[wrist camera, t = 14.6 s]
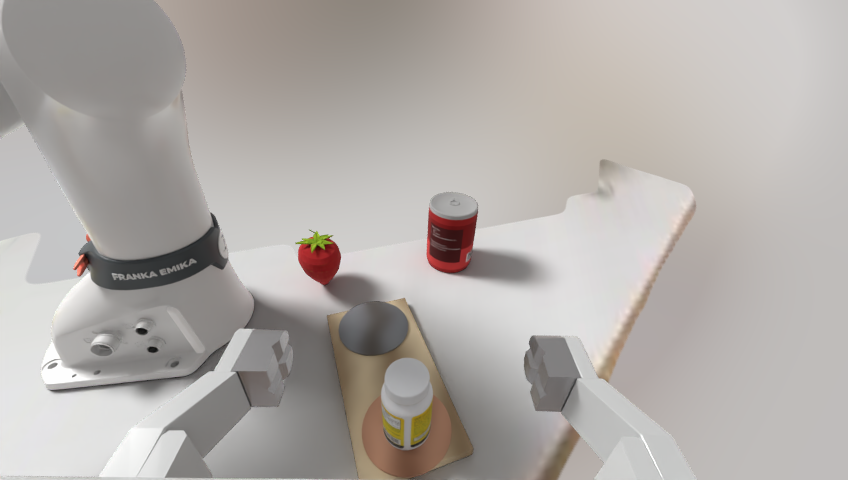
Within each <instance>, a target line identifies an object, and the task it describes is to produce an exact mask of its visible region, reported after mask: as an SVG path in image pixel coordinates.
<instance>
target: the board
mask: <svg viewBox="0 0 848 480" xmlns="http://www.w3.org/2000/svg"><path fill="white" fill-rule="evenodd" d="M327 319H328V325H329V330H330V335H331V340H332V345H333V350H334V355H335V360H336V365H337V371H338V376H339V381H340V386H341V391H342V396H343V401H344V406H345V411H346V416H347V422H348V427H349V432H350V437H351V442H352V447H353V452H354V457H355V462H356V467H357V473H358V478H359V479H366V480H408V479H411V478H413V477H416V476H419V475H423V474H425V473H427V472H429V471H431V470H434V469H436V468H439V467H441V466H444V465H446V464H449V463H452V462H454V461H457V460H459V459H462V458H464V457H467V456H470V455H472V452H473V447H472V444H471V442H470V440H469V438H468V436H467V433H466V431H465V429H464V427H463V425H462V422H461V420H460V418H459V416H458V414H457V412H456V409H455V407H454V405H453V403H452V401H451V398H450V396H449V394H448V392H447V390H446V387H445V385H444V383H443V381H442V379H441V377H440V374H439V372H438V370H437V368H436V366H435V363H434V361H433V359H432V357H431V355H430V352H429V350H428V348H427V346H426V344H425V342H424V339H423V337H422V335H421V333H420V331H419V328H418V326H417V324H416V322H415V320H414V318H413V315H412V313H411V311H410V309H409V307H408V304H407V302H406V300H405V298H402V299H398V300H394V301H389V302H379V301H374V302H366V303H362V304H360V305H357V306H355V307H353V308H352V309H350V310H349V311H345V312H340V313H336V314H331V315H327ZM401 358H414V359H417V360H419V361H421V362H422V363H423V364H424V365H425V366H426V367H427V369H428V371H429V375H430V383H431V385H432V389H433V402H432V416H431V428H430V433H429V436H428V438H427V439H426V441H425V442H424V443H423V444H422V445H421V446H419V447H417V448H415V449H412V450H400V449H397V448H395V447H393V446H392V445H391V444H390V443H389V442H388V441H387V439H386V437H385V435H384V431H383V418H382V405H381V390H382V386H383V384H384V378H385V373H386V370H387V368H388V367H389V366H390V364H392V363H393V362H394V361H396V360H398V359H401Z"/></svg>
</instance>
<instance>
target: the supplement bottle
mask: <svg viewBox="0 0 848 480" xmlns="http://www.w3.org/2000/svg"><path fill="white" fill-rule="evenodd" d="M432 402H433V389H432V385H431V383H430V375H429V371H428V369H427V367H426V366H425V365H424V364H423V363H422V362H421V361H419V360H417V359H414V358H401V359H398V360H396V361H394V362H393V363H392V364H390V366H389V367H388V368H387V370H386V373H385V378H384V384H383V386H382V390H381V405H382V418H383V431H384V435H385V437H386V439H387V441H388V442H389V443H390V444H391V445H392V446H393V447H395V448H397V449H400V450H412V449H415V448H417V447H419V446H421V445H422V444H423V443H424V442H425V441H426V439H427V438H428V436H429V433H430V428H431V416H432Z"/></svg>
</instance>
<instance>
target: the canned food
mask: <svg viewBox="0 0 848 480" xmlns="http://www.w3.org/2000/svg"><path fill="white" fill-rule="evenodd" d="M477 214H478V204H477V202H476V201H475V200H474V199H473V198H472V197H470V196H468V195H465V194H462V193H456V192H446V193H440V194H437V195H435V196H434V197H432V198H431V200H430V205H429V219H428V237H427V259H428V261H429V263H430V265H431V266H432V267H433V268H435V269H437V270H439V271H442V272H447V273H454V272H459V271H462V270H463V269H465V268H466V267H467V266H468V264H469V262H470V260H471V255H472V248H473V241H474V235H475V228H476V221H477Z"/></svg>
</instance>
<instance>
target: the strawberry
mask: <svg viewBox="0 0 848 480" xmlns="http://www.w3.org/2000/svg"><path fill="white" fill-rule="evenodd" d="M310 231H311V230H310ZM314 233H315V232H314ZM330 237H332V235H331V236H328V235H322V236H319V234H318V232H317V231H316V233H315V234H314V236H313V237H311V238H308V239H302V240H305V241H301V242H297V243H296V244H301V246H300V247H299V251H298V260H299V263H300V265H301V266H302V268H303V270H304V271H305V273H306V274H307V275H308V276H310V277H311V278H312V279H314V280H315V281H317V282H320V283H321V284H323V285H326V284H328V283H329V281H330V280H331V279H332V278H333V277H334V276H335V274H336V273H337V271H338V269H339V265H340V260H341V254H340V251H339V248H338V246H337V245H336V243H335V242H333V241H332V240H330V239H329V238H330Z"/></svg>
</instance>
